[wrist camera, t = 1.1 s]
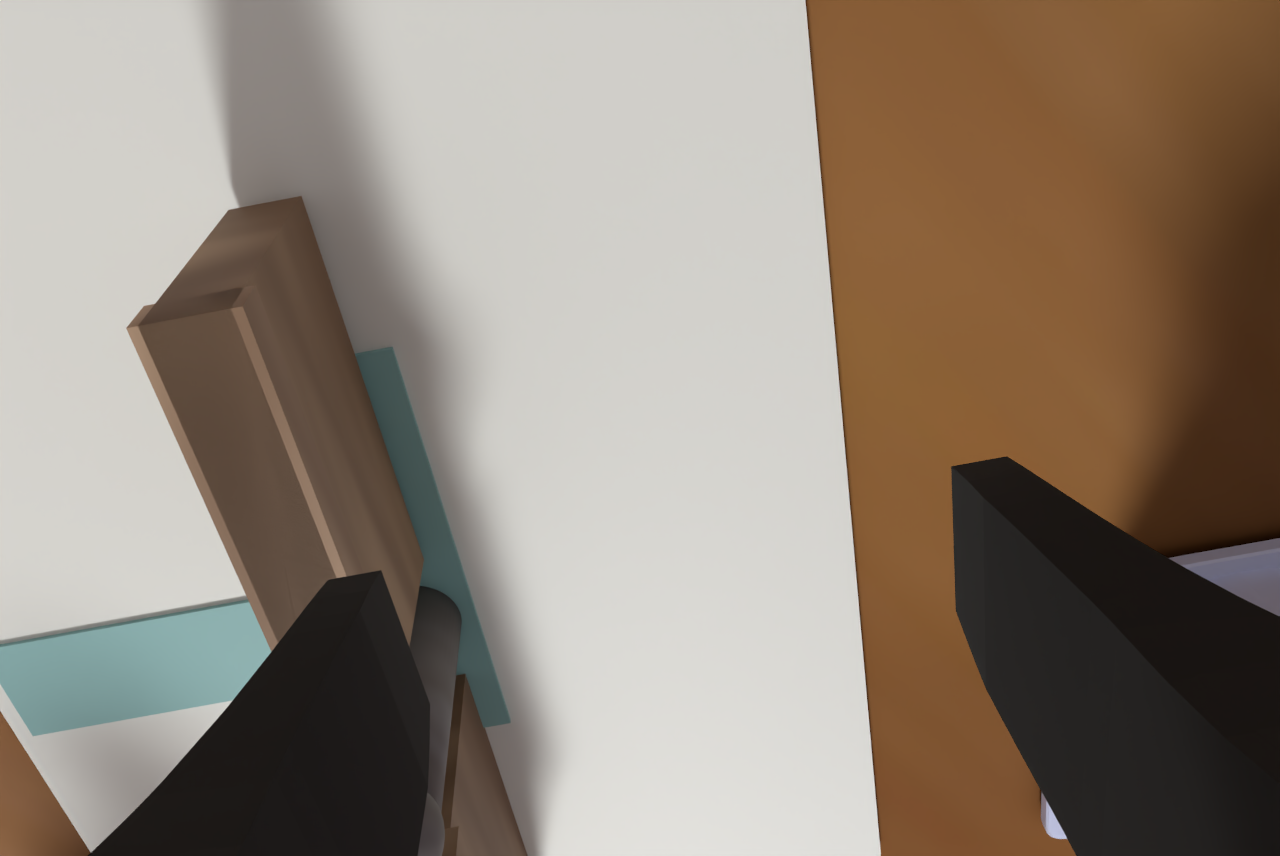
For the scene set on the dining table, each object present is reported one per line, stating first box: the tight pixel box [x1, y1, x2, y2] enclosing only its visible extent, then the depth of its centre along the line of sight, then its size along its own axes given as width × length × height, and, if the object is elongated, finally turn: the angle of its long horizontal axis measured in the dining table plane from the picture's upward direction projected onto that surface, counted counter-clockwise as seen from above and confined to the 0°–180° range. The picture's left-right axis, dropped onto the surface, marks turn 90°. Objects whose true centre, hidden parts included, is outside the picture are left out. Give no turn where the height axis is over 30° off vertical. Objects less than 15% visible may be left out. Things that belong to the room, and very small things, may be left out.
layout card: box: [0, 0, 881, 856], centre depth 22 cm, size 18×24×1 cm
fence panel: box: [126, 196, 424, 652], centre depth 18 cm, size 2×7×4 cm, turn 10°
